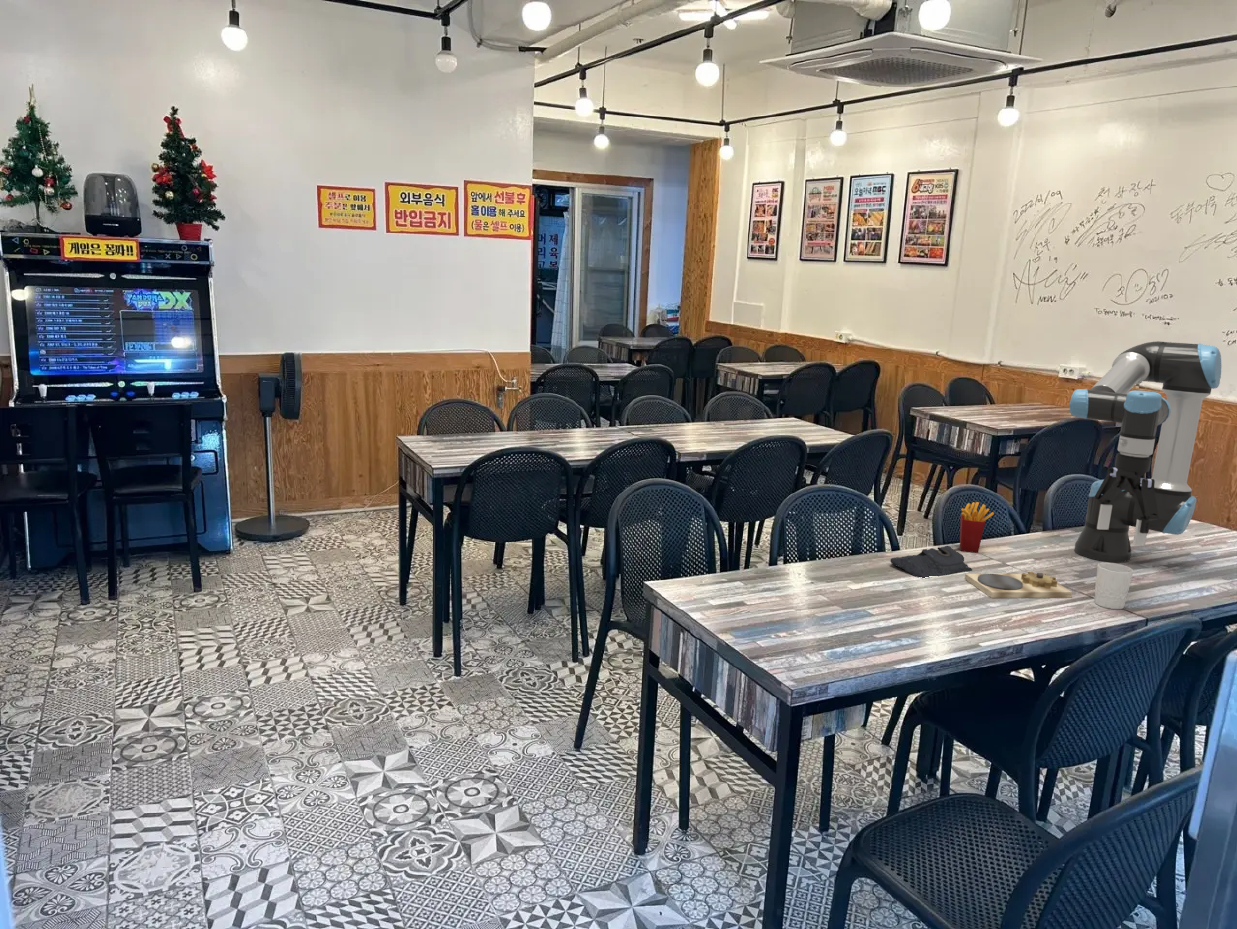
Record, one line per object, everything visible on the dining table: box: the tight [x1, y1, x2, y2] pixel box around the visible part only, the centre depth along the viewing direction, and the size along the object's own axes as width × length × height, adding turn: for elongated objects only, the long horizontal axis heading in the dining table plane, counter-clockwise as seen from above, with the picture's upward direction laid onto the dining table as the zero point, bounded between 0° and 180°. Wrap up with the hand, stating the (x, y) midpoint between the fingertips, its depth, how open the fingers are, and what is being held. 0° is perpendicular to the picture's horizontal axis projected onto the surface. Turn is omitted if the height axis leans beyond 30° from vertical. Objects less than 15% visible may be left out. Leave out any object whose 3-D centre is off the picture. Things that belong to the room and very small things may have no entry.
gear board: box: [964, 571, 1073, 599], centre depth 232 cm, size 22×14×4 cm, turn 96°
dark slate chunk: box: [890, 545, 973, 579], centre depth 247 cm, size 15×22×5 cm
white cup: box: [1093, 562, 1134, 610], centre depth 221 cm, size 8×8×10 cm
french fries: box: [959, 501, 995, 554], centre depth 263 cm, size 9×8×15 cm
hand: (1120, 537), depth 219 cm, fingers open, 13 cm apart
